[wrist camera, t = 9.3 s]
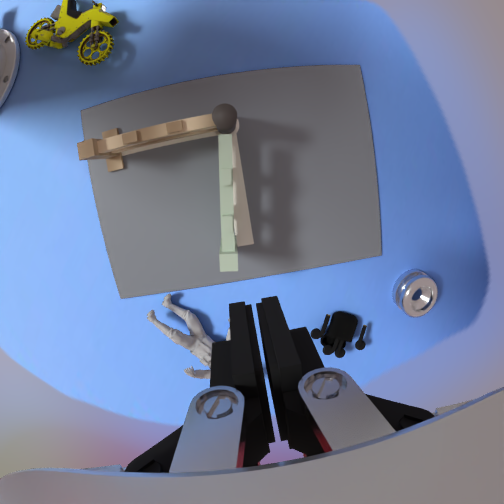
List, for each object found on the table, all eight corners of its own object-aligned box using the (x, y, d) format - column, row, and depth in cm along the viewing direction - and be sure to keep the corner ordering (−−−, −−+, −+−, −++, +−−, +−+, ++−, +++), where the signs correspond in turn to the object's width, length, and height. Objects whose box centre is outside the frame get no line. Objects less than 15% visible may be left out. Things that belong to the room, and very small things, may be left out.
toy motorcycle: (12, 41, 19) (46, -14, 18) (29, 50, 23) (60, -1, 22) (92, 64, 22) (132, 1, 20) (107, 74, 25) (142, 17, 24)
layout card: (81, 110, 26) (80, 110, 26) (358, 65, 27) (360, 64, 26) (121, 297, 32) (120, 299, 32) (380, 254, 32) (381, 255, 32)
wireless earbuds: (375, 322, 34) (360, 363, 33) (364, 318, 36) (351, 358, 36) (322, 306, 32) (307, 351, 32) (314, 303, 35) (299, 345, 34)
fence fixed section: (232, 103, 27) (232, 87, 21) (239, 144, 28) (241, 140, 22) (104, 132, 27) (71, 127, 20) (110, 171, 28) (79, 176, 21)
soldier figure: (187, 272, 33) (277, 348, 32) (182, 291, 37) (260, 358, 36) (135, 323, 28) (232, 408, 27) (135, 336, 32) (220, 410, 31)
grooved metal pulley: (413, 313, 35) (433, 277, 34) (425, 324, 32) (446, 286, 31) (384, 301, 34) (405, 262, 33) (395, 312, 31) (418, 271, 30)
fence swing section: (218, 139, 28) (215, 133, 22) (234, 138, 28) (234, 133, 22) (222, 250, 30) (220, 271, 25) (236, 249, 31) (238, 271, 25)
